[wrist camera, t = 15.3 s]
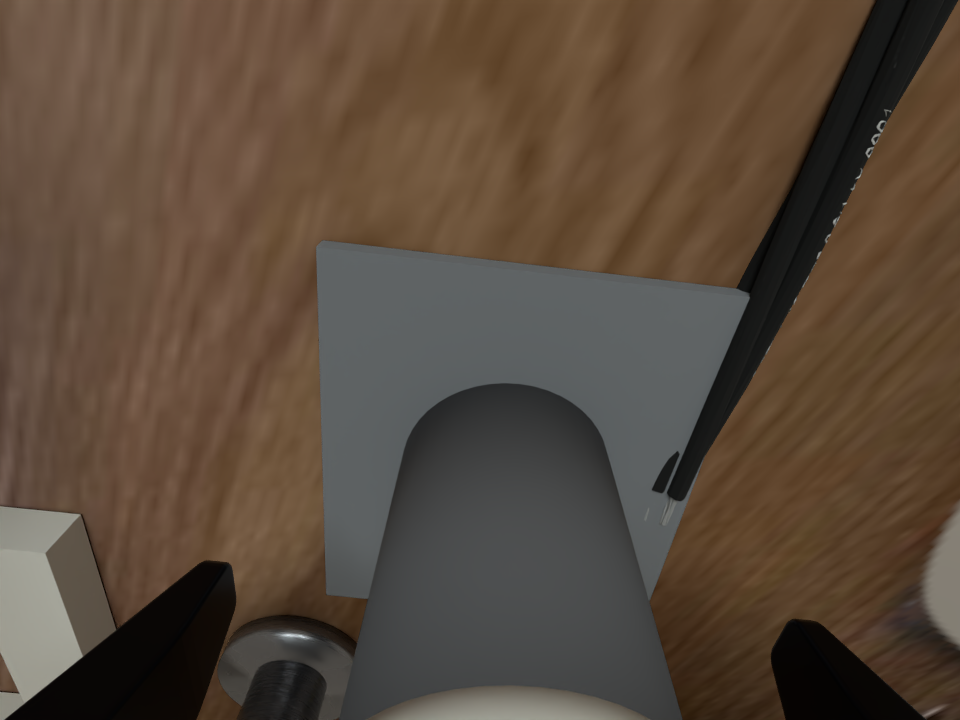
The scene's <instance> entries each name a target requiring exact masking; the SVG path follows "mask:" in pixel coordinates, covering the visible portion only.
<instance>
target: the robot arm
mask: <svg viewBox="0 0 960 720" xmlns="http://www.w3.org/2000/svg"><path fill="white" fill-rule="evenodd" d="M235 606H236V591H235V584H234V577H233V570H232V566H231V565H230V564H229V563H227V562H220V561H210V560H208V561H203V562H201V563H199V564H198V565H197V566H195V567H194V568H193V569H192V570H190V571H189V572H188V573H187V574H185V575H184V576H183V577H182V578H180V579H179V580H178V581H177V582H175V583H174V584H173V585H172V586H170V587H169V588H168V589H167V590H165V591H164V592H163V593H162V594H160V595H159V596H158V597H157V598H155V599H154V600H153V601H152V602H150V603H149V604H148V605H147V606H145V607H144V608H143V609H142V610H140V611H139V612H138V613H137V614H135V615H134V616H133V617H132V618H130V619H129V620H128V621H127V622H125V623H124V624H123V625H122V626H120V627H119V628H118V629H117V630H115V631H114V632H113V633H112V634H110V635H109V636H108V637H107V638H105V639H104V640H103V641H102V642H100V643H99V644H98V645H97V646H95V647H94V648H93V649H92V650H90V651H89V652H88V653H87V654H85V655H84V656H83V657H82V658H80V659H79V660H78V661H77V662H75V663H74V664H73V665H72V666H70V667H69V668H68V669H67V670H65V671H64V672H63V673H62V674H60V675H59V676H58V677H57V678H55V679H54V680H53V681H52V682H50V683H49V684H48V685H47V686H45V687H44V688H43V689H42V690H40V691H39V692H38V693H37V694H35V695H34V696H33V697H32V698H30V699H29V700H28V701H27V702H26V703H24V704H23V705H22V706H21V707H19V708H18V709H17V710H16V711H14V712H13V713H12V714H11V715H9V716H8V717H7V718H6V719H4V720H196V719H197V717H198V714H199V712H200V709H201V706H202V703H203V701H204V698H205V695H206V692H207V689H208V686H209V683H210V681H211V678H212V675H213V672H214V669H215V666H216V663H217V660H218V657H219V654H220V652H221V649H222V646H223V643H224V640H225V637H226V634H227V631H228V628H229V625H230V623H231V620H232V617H233V614H234V610H235ZM771 664H772V669H773V672H774V676H775V680H776V684H777V688H778V692H779V696H780V699H781V703H782V707H783V711H784V715H785V719H786V720H926V719H925V718H924V717H923V716H922V715H921V714H919V713H918V712H917V711H916V710H915V709H914V708H913V707H912V706H911V705H910V704H908V703H907V702H906V701H905V700H904V699H903V698H902V697H901V696H900V695H899V694H898V693H896V692H895V691H894V690H893V689H892V688H891V687H890V686H889V685H888V684H887V683H885V682H884V681H883V680H882V679H881V678H880V677H879V676H878V675H877V674H876V673H874V672H873V671H872V670H871V669H870V668H869V667H868V666H867V665H866V664H865V663H863V662H862V661H861V660H860V659H859V658H858V657H857V656H856V655H855V654H854V653H852V652H851V651H850V650H849V649H848V648H847V647H846V646H845V645H844V644H843V643H841V642H840V641H839V640H838V639H837V638H836V637H835V636H834V635H833V634H832V633H831V632H829V631H828V630H827V629H826V628H825V627H824V626H823V625H821V624H820V623H818V622H816V621H812V620H802V619H792V620H790V621H788V622H787V624H786V625H785V627H784V629H783V631H782V632H781V634H780V636H779V638H778V639H777V641H776V643H775V645H774V646H773V648H772V652H771Z"/></svg>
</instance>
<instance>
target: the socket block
mask: <svg viewBox="0 0 960 720" xmlns="http://www.w3.org/2000/svg"><path fill="white" fill-rule="evenodd" d="M115 630H116V628H115V624H114V621H113V618H112V615H111V611H110V608H109V605H108V601H107V598H106V595H105V592H104V588H103V585H102V582H101V579H100V575H99V572H98V569H97V566H96V562H95V559H94V556H93V553H92V549H91V546H90V543H89V540H88V536H87V533H86V530H85V527H84V523H83V520H82V517H81V514H71V513H62V512H52V511H42V510H32V509H22V508H12V507H2V506H0V653H1V655H2V657H3V659H4V661H5V663H6V666H7V668H8V670H9V672H10V674H11V676H12V678H13V680H14V682H15V685H16V687H17V689H18V691H19V693H20V694H17V693H6V692H0V720H4V719H6V718H7V717H8V716H9V715H11V714H12V713H13V712H14V711H16V710H17V709H18V708H19V707H21V706H22V705H23V704H24V703H26V702H27V701H28V700H29V699H30V698H32V697H33V696H34V695H35V694H37V693H38V692H39V691H40V690H42V689H43V688H44V687H45V686H47V685H48V684H49V683H50V682H52V681H53V680H54V679H55V678H57V677H58V676H59V675H60V674H62V673H63V672H64V671H65V670H67V669H68V668H69V667H70V666H72V665H73V664H74V663H75V662H77V661H78V660H79V659H80V658H82V657H83V656H84V655H85V654H87V653H88V652H89V651H90V650H92V649H93V648H94V647H95V646H97V645H98V644H99V643H100V642H102V641H103V640H104V639H105V638H107V637H108V636H109V635H110V634H112V633H113V632H114V631H115Z"/></svg>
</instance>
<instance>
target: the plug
mask: <svg viewBox="0 0 960 720" xmlns="http://www.w3.org/2000/svg"><path fill="white" fill-rule="evenodd" d="M339 720H683V719H682V716H681V712H680V709H679V705H678V702H677V698H676V695H675V691H674V688H673V684H672V680H671V677H670V673H669V670H668V666H667V663H666V659H665V656H664V652H663V649H662V645H661V641H660V638H659V634H658V631H657V627H656V624H655V620H654V617H653V613H652V610H651V606H650V603H649V599H648V595H647V592H646V588H645V585H644V581H643V578H642V574H641V571H640V567H639V564H638V560H637V557H636V553H635V549H634V546H633V542H632V539H631V535H630V532H629V528H628V525H627V521H626V518H625V514H624V510H623V507H622V503H621V500H620V496H619V493H618V489H617V486H616V482H615V479H614V475H613V472H612V468H611V464H610V461H609V457H608V454H607V450H606V447H605V444H604V441H603V438H602V436H601V434H600V432H599V430H598V429H597V427H596V426H595V424H594V423H593V422H592V420H591V419H590V418H589V417H588V416H587V415H586V414H585V413H584V412H583V411H582V410H581V409H580V408H578V407H577V406H576V405H574V404H573V403H572V402H570V401H568V400H567V399H565V398H563V397H561V396H559V395H557V394H555V393H552V392H550V391H548V390H544V389H541V388H538V387H534V386H529V385H523V384H511V383H499V384H487V385H482V386H476V387H473V388H469V389H466V390H462V391H460V392H458V393H455V394H453V395H451V396H449V397H447V398H445V399H444V400H442V401H440V402H439V403H437V404H436V405H435V406H433V407H432V408H431V409H429V410H428V411H427V412H426V413H425V414H424V415H423V416H422V417H421V418H420V419H419V421H418V422H417V424H416V425H415V426H414V428H413V429H412V431H411V433H410V435H409V437H408V439H407V442H406V445H405V448H404V452H403V456H402V460H401V464H400V468H399V472H398V477H397V481H396V485H395V489H394V493H393V497H392V502H391V506H390V510H389V514H388V518H387V522H386V526H385V531H384V535H383V539H382V543H381V547H380V551H379V555H378V560H377V564H376V568H375V572H374V576H373V580H372V585H371V589H370V593H369V597H368V601H367V605H366V609H365V614H364V618H363V622H362V626H361V630H360V634H359V638H358V643H357V647H356V651H355V655H354V659H353V663H352V668H351V672H350V676H349V680H348V684H347V688H346V692H345V697H344V701H343V705H342V709H341V713H340V717H339Z"/></svg>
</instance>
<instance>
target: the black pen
mask: <svg viewBox="0 0 960 720" xmlns="http://www.w3.org/2000/svg"><path fill="white" fill-rule="evenodd" d="M957 2H958V0H877V2H876V5H875V7H874V9H873V11H872V14H871V16H870V18H869V20H868V23H867V25H866V27H865V30H864V32H863V34H862V36H861V39H860V41H859V43H858V45H857V48H856V50H855V52H854V54H853V56H852V59H851V61H850V63H849V65H848V68H847V70H846V72H845V74H844V76H843V79H842V81H841V83H840V85H839V88H838V90H837V92H836V94H835V96H834V99H833V101H832V103H831V105H830V108H829V110H828V112H827V114H826V116H825V119H824V121H823V123H822V125H821V128H820V130H819V132H818V134H817V136H816V139H815V141H814V143H813V145H812V148H811V150H810V152H809V154H808V156H807V159H806V161H805V164H804V166H803V168H802V171H801V173H800V175H799V176H798V178H797V180H796V182H795V183H794V185H793V187H792V189H791V190H790V192H789V194H788V196H787V198H786V199H785V201H784V203H783V205H782V206H781V208H780V210H779V212H778V213H777V215H776V217H775V219H774V220H773V222H772V224H771V226H770V228H769V229H768V231H767V233H766V235H765V236H764V238H763V240H762V242H761V243H760V245H759V247H758V249H757V251H756V252H755V254H754V256H753V258H752V260H751V261H750V263H749V265H748V267H747V269H746V271H745V273H744V275H743V277H742V279H741V281H740V283H739V285H738V287H737V288H736V289H739V290H741V291H743V292H746V293H750V295H749V297H750V299H749V301H748V304H747V306H746V308H745V310H744V313H743V315H742V317H741V320H740V322H739V324H738V326H737V329H736V331H735V333H734V336H733V338H732V340H731V343H730V345H729V347H728V350H727V352H726V354H725V357H724V359H723V362H722V364H721V366H720V369H719V371H718V373H717V376H716V378H715V380H714V383H713V385H712V387H711V390H710V392H709V394H708V397H707V399H706V401H705V404H704V406H703V408H702V411H701V413H700V415H699V418H698V420H697V423H696V425H695V427H694V430H693V432H692V434H691V437H690V439H689V441H688V444H687V446H686V448H685V451H684V453H683V456H682V458H681V460H680V463H679V465H678V467H677V470H676V472H675V474H674V477H673V479H672V481H671V484H670V486H669V489H668V491H667V494H668V496H669V497H670V498H669V500H668V502H667V503H666V505H665V508H664V510H663V513H662V515H661V518H660V521H659V524H661V525H663V526H665V525H667V523H668V521H669V519H670V517H671V515H672V512H673V510H674V507H675V505H676V504H677V502H678V501H683V500H684V499H685V497H686V495H687V493H688V491H689V489H690V487H691V484H692V482H693V480H694V478H695V476H696V474H697V472H698V469H699V467H700V465H701V463H702V461H703V459H704V456H705V455H706V454H707V452H708V450H709V449H710V447H711V445H712V444H713V442H714V441H715V439H716V437H717V436H718V434H719V432H720V431H721V429H722V427H723V426H724V424H725V423H726V421H727V419H728V418H729V416H730V414H731V413H732V411H733V409H734V408H735V406H736V405H737V403H738V401H739V400H740V398H741V396H742V395H743V393H744V391H745V390H746V388H747V386H748V385H749V383H750V381H751V379H752V377H753V376H754V374H755V373H756V370H757V368H758V367H759V365H760V363H761V362H762V360H763V359H764V356H765V354H767V352H768V350H769V348H770V345H771V343H772V341H773V340H774V337H775V336H776V334H777V332H778V330H779V328H781V327H782V323H783V321H784V319H785V317H786V316H787V314H788V312H790V311H791V307H792V305H793V304H794V303H795V301H796V299H797V296H798V294H799V292H800V290H801V288H803V286H804V285H805V283H806V281H807V279H808V277H809V274H810V273H811V271H812V269H813V268H814V266H815V264H816V261H817V259H818V258H819V256H820V254H821V252H822V250H823V248H824V246H825V244H826V243H827V240H828V238H829V236H830V235H831V232H832V230H833V228H834V227H835V225H836V223H837V221H838V219H839V217H840V214H842V210H843V208H844V206H845V204H846V202H847V200H848V198H849V196H850V194H851V192H852V190H854V189H855V184H856V182H857V180H858V178H860V176H861V174H862V170H863V168H864V166H865V164H866V162H867V160H868V158H869V157H870V155H871V153H872V151H873V149H874V146H875V144H876V143H877V141H878V138H879V136H880V135H881V132H882V131H883V129H884V127H885V124H886V122H887V120H888V119H889V117H890V115H891V114H892V112H893V111H894V109H895V107H896V106H897V104H898V102H899V101H900V99H901V97H902V96H903V94H904V92H905V91H906V89H907V87H908V86H909V84H910V82H911V81H912V79H913V77H914V76H915V74H916V72H917V71H918V69H919V67H920V66H921V64H922V62H923V61H924V59H925V57H926V56H927V54H928V52H929V51H930V49H931V47H932V46H933V44H934V42H935V40H936V39H937V37H938V35H939V33H940V32H941V30H942V28H943V26H944V25H945V23H946V21H947V19H948V17H949V16H950V14H951V12H952V10H953V9H954V7H955V5H956V3H957ZM679 455H680V454H679V452H678V451H677V452H676V453H675V454H673V455H672V456H671V457H670V458H669V459H668V461H667V462H666V464H665V465H664V467H663V468H662V470H661V472H660V474H659V476H658V477H657V479H656V481H655V483H654V485H653V487H652V490H653V491H655V492H659V493H663V492H664V491H665V489H666V486H667V484H668V482H669V479H670V477H671V474H672V472H673V470H674V467H675V465H676V462H677V460H678V457H679ZM648 512H649V507H648V510H647V512H646V515H645V518H644V520H645V521H646V519H647V515H648Z"/></svg>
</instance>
